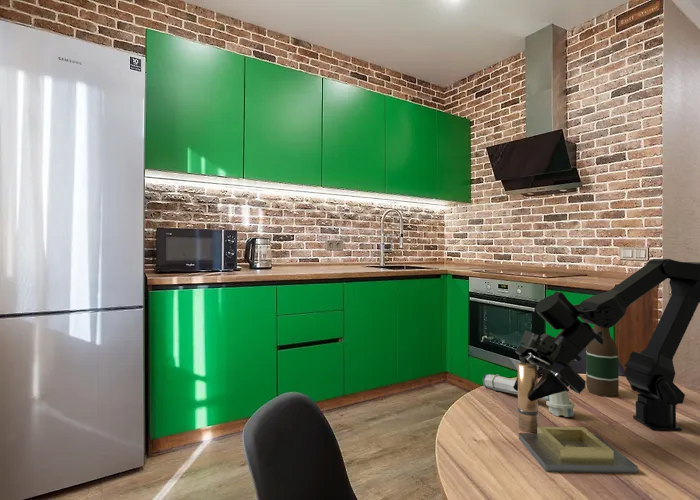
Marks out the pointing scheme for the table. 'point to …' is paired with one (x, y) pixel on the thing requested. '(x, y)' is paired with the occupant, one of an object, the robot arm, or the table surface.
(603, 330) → the beer bottle
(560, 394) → the light grey long piece
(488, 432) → the table surface
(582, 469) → the framed base plate
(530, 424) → the tube
